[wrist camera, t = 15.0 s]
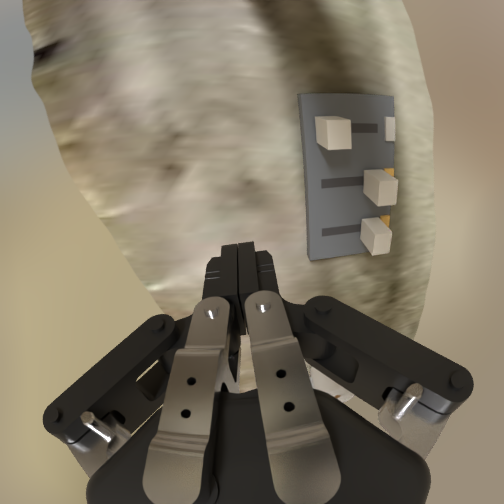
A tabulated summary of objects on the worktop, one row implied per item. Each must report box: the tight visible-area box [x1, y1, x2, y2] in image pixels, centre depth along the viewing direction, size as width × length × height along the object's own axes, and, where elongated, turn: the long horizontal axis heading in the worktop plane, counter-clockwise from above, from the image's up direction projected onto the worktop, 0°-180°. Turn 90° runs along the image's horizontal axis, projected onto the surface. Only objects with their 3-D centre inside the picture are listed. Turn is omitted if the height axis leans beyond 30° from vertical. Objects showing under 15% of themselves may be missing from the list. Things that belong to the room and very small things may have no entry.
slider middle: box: [363, 169, 398, 206], centre depth 34 cm, size 4×3×5 cm
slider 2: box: [360, 217, 392, 256], centre depth 39 cm, size 4×3×5 cm
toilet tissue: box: [309, 367, 355, 403], centre depth 62 cm, size 11×12×10 cm
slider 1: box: [315, 116, 352, 150], centre depth 30 cm, size 4×3×5 cm
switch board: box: [297, 93, 395, 261], centre depth 37 cm, size 26×14×2 cm, turn 7°
